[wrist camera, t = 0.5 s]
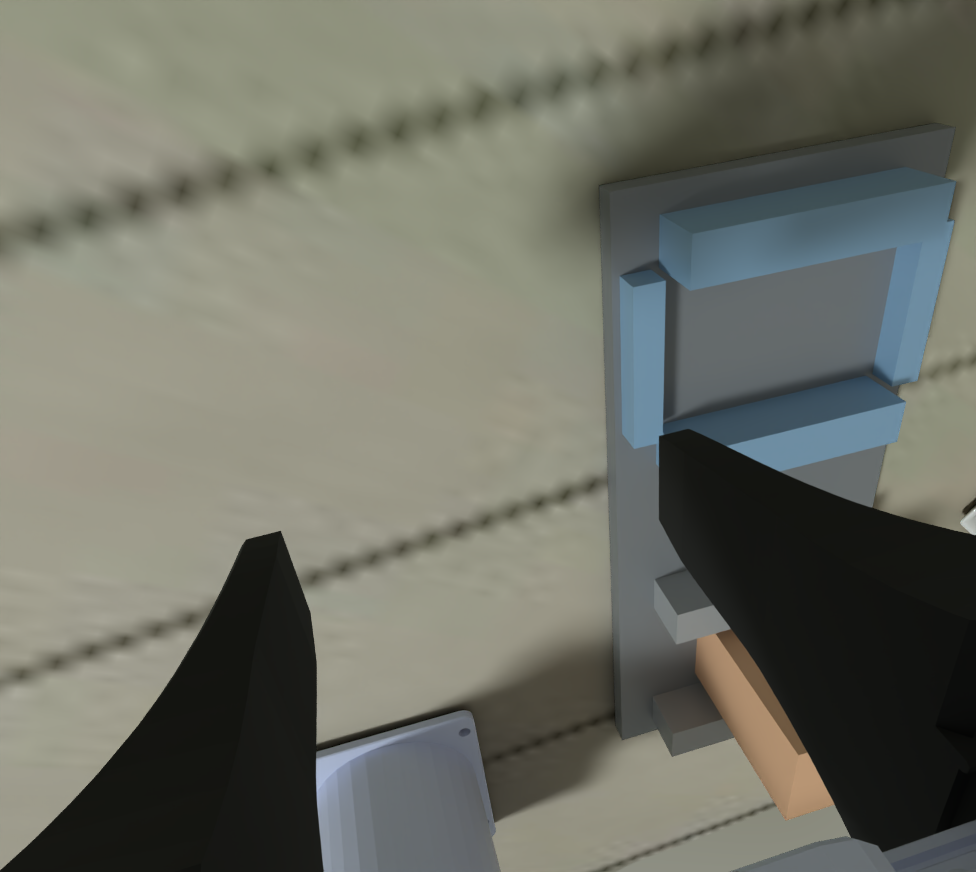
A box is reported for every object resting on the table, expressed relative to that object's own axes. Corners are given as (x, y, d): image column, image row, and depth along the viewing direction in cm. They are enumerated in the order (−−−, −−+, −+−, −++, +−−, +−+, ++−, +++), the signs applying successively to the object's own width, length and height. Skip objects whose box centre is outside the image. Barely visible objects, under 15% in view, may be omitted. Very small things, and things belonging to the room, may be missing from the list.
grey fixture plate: (825, 662, 36) (862, 709, 34) (615, 725, 35) (639, 778, 32) (935, 123, 23) (1011, 138, 20) (599, 185, 21) (639, 210, 19)
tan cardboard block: (776, 648, 33) (882, 788, 27) (694, 672, 33) (785, 820, 27) (786, 584, 31) (903, 721, 25) (698, 609, 30) (798, 755, 25)
